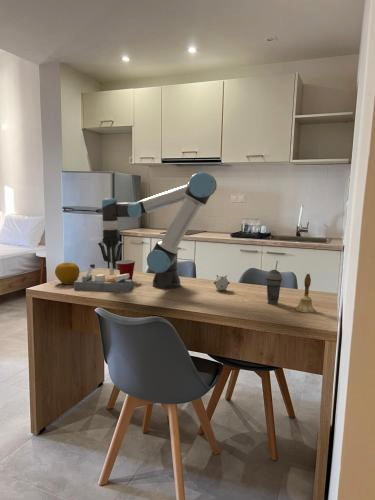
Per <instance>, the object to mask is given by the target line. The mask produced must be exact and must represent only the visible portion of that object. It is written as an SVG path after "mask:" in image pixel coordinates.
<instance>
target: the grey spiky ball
mask: <svg viewBox="0 0 375 500" xmlns="http://www.w3.org/2000/svg"><path fill="white" fill-rule="evenodd" d="M227 277H228V275H227V274H226V275H225V276H222V275H221V276H220V275H219V276H218V275H216V279H215V281H214V282H213V285H214V286H215V288H216V291H215V292H218V291H225V292H227V289H228V286H229V285H230V284H231V282H229V280H228V278H227Z"/></svg>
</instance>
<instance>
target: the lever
mask: <svg viewBox="0 0 375 500" xmlns="http://www.w3.org/2000/svg"><path fill="white" fill-rule="evenodd" d="M95 268H96V265H95V264H94V263H91V264H89V268H88V271H87V273H86V275H85V277H87V280H88V279H90V276H91V274H92V273H93V271H94V269H95Z"/></svg>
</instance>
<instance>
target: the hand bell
mask: <svg viewBox="0 0 375 500" xmlns="http://www.w3.org/2000/svg"><path fill="white" fill-rule="evenodd" d="M303 283H304V285H303V286H304V294H303V296H301V297H300V300H299V302H298V305H297V306H296V307H295V311H297V312H299V313H300V312H301V313H305V314H312V313H315V312H316V309H315V308H314V306H313V302H312V298H311V297H310V296H309V291H310V286H311V283H312V280H311V274H310V273H306V275H305V277H304V282H303Z"/></svg>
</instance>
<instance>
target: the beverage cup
mask: <svg viewBox="0 0 375 500" xmlns="http://www.w3.org/2000/svg"><path fill="white" fill-rule="evenodd" d="M278 262H279V261H278V260H276V264H275V269H271V270H269V271H268V272H266V273H267V274H266V275H265V282H266V296H267V297H266V299H267V304H268V305H271V306H272V305H273V306H274V305H275V306H276V305H278V304H279V298H280V293H281V292H280V291H281V284H282V281H283V276H282V273H281V272H280V271H278V270H277V267H278V264H279V263H278Z"/></svg>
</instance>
